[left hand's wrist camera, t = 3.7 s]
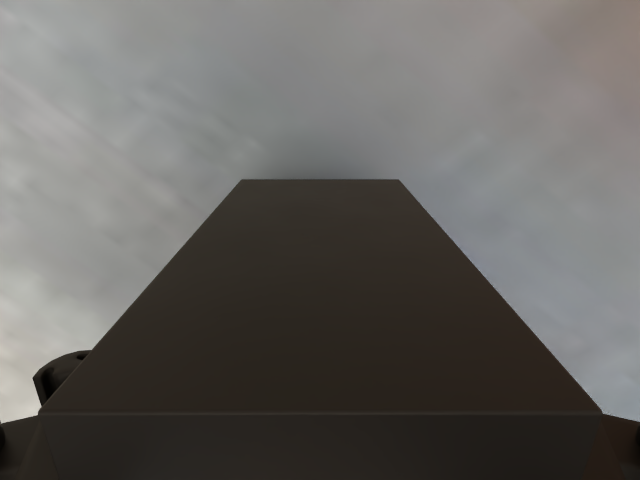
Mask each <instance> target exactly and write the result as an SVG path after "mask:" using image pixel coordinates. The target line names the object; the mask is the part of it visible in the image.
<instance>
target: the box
mask: <svg viewBox="0 0 640 480" xmlns="http://www.w3.org/2000/svg"><path fill="white" fill-rule="evenodd" d="M602 416H603V413H602V410H601V409H600V408H599V407H598V406H597V404H596V403H595V402H594V401H593V400H592V399H591V398H590V396H589V395H588V394H587V393H586V392H585V391H584V390H583V388H582V387H581V386H580V385H579V384H578V383H577V382H576V381H575V379H574V378H573V377H572V376H571V375H570V374H569V373H568V371H567V370H566V369H565V368H564V367H563V366H562V365H561V363H560V362H559V361H558V360H557V359H556V358H555V357H554V356H553V354H552V353H551V352H550V351H549V350H548V349H547V348H546V346H545V345H544V344H543V343H542V342H541V341H540V340H539V338H538V337H537V336H536V335H535V334H534V333H533V332H532V331H531V329H530V328H529V327H528V326H527V325H526V324H525V323H524V321H523V320H522V319H521V318H520V317H519V316H518V315H517V313H516V312H515V311H514V310H513V309H512V308H511V307H510V306H509V304H508V303H507V302H506V301H505V300H504V299H503V298H502V296H501V295H500V294H499V293H498V292H497V291H496V290H495V288H494V287H493V286H492V285H491V284H490V283H489V282H488V281H487V279H486V278H485V277H484V276H483V275H482V274H481V273H480V271H479V270H478V269H477V268H476V267H475V266H474V265H473V263H472V262H471V261H470V260H469V259H468V258H467V257H466V256H465V254H464V253H463V252H462V251H461V250H460V249H459V248H458V246H457V245H456V244H455V243H454V242H453V241H452V240H451V238H450V237H449V236H448V235H447V234H446V233H445V232H444V231H443V229H442V228H441V227H440V226H439V225H438V224H437V223H436V221H435V220H434V219H433V218H432V217H431V216H430V215H429V213H428V212H427V211H426V210H425V209H424V208H423V207H422V206H421V204H420V203H419V202H418V201H417V200H416V199H415V198H414V196H413V195H412V194H411V193H410V192H409V191H408V190H407V188H406V187H405V186H404V185H403V184H402V183H401V182H400V181H399V180H241V181H240V182H239V183H238V184H237V185H236V186H235V188H234V189H233V190H232V191H231V192H230V193H229V194H228V196H227V197H226V198H225V199H224V200H223V201H222V202H221V204H220V205H219V206H218V207H217V208H216V209H215V210H214V211H213V213H212V214H211V215H210V216H209V217H208V218H207V219H206V221H205V222H204V223H203V224H202V225H201V226H200V227H199V229H198V230H197V231H196V232H195V233H194V234H193V235H192V237H191V238H190V239H189V240H188V241H187V242H186V243H185V244H184V246H183V247H182V248H181V249H180V250H179V251H178V252H177V254H176V255H175V256H174V257H173V258H172V259H171V260H170V262H169V263H168V264H167V265H166V266H165V267H164V268H163V270H162V271H161V272H160V273H159V274H158V275H157V276H156V278H155V279H154V280H153V281H152V282H151V283H150V284H149V285H148V287H147V288H146V289H145V290H144V291H143V292H142V293H141V295H140V296H139V297H138V298H137V299H136V300H135V301H134V303H133V304H132V305H131V306H130V307H129V308H128V309H127V311H126V312H125V313H124V314H123V315H122V316H121V317H120V318H119V320H118V321H117V322H116V323H115V324H114V325H113V326H112V328H111V329H110V330H109V331H108V332H107V333H106V334H105V336H104V337H103V338H102V339H101V340H100V341H99V342H98V344H97V345H96V346H95V347H94V348H93V349H92V350H91V352H90V353H89V354H88V355H87V356H86V357H85V358H84V359H83V361H82V362H81V363H80V364H79V365H78V366H77V367H76V369H75V370H74V371H73V372H72V373H71V374H70V375H69V377H68V378H67V379H66V380H65V381H64V382H63V383H62V385H61V386H60V387H59V388H58V389H57V390H56V391H55V392H54V394H53V395H52V396H51V397H50V398H49V399H48V400H47V402H46V403H45V404H44V405H43V406H42V407H41V408H40V410H39V412H38V417H39V420H40V423H41V426H42V429H43V432H44V435H45V438H46V441H47V444H48V447H49V450H50V453H51V457H52V460H53V463H54V466H55V469H56V472H57V475H58V478H59V480H582V477H583V474H584V470H585V467H586V464H587V461H588V458H589V455H590V452H591V449H592V446H593V443H594V440H595V437H596V434H597V431H598V428H599V425H600V422H601V419H602Z"/></svg>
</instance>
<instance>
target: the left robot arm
mask: <svg viewBox="0 0 640 480" xmlns="http://www.w3.org/2000/svg"><path fill="white" fill-rule="evenodd" d="M90 352H91V350H85V351H77V352H73V353H70V354H66V355H63V356H61V357H59V358H57V359H55V360H52V361H51V362H49V363H48V364H46V365H45V366H43V367H42V368H41V369H39V371H38V372H37V373H36V374H35V375H34V377H33V381H34V384H35V387H36V391H37V394H38V397H39V400H40V403H41V406H43V405H44V404H45V403H46V402H47V400H48V399H49V398H50V397H51V396H52V395H53V394H54V392H55V391H56V390H57V389H58V388H59V387H60V386H61V385H62V383H63V382H64V381H65V380H66V379H67V378H68V377H69V375H70V374H71V373H72V372H73V371H74V370H75V369H76V367H77V366H78V365H79V364H80V363H81V362H82V361H83V359H84V358H85V357H86V356H87V355H88V354H89V353H90ZM0 480H59V478H58V475H57V472H56V469H55V466H54V463H53V460H52V457H51V453H50V450H49V447H48V444H47V441H46V438H45V435H44V432H43V429H42V426H41V423H40V420H39V417H38V415H37V416H33V417H28V418H24V419H20V420H15V421H11V422H6V423H2V424H1V422H0ZM582 480H640V422H637V421H633V420H628V419H624V418H619V417H615V416H610V415H606V414H603V416H602V419H601V422H600V425H599V428H598V431H597V434H596V437H595V440H594V443H593V446H592V449H591V452H590V455H589V458H588V461H587V464H586V467H585V470H584V474H583V477H582Z"/></svg>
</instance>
